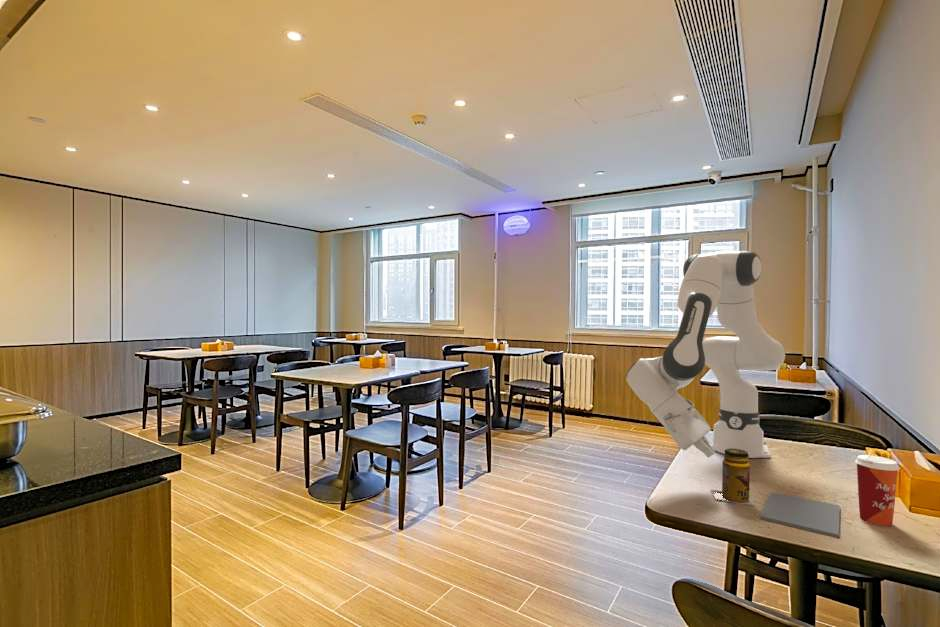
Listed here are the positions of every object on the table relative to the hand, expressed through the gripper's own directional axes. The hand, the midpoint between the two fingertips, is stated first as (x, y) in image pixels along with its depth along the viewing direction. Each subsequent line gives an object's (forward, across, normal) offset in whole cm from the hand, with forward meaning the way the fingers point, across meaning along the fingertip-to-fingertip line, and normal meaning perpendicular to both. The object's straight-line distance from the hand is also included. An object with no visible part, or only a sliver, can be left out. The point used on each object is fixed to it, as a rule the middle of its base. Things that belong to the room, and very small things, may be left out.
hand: (712, 454), depth 123 cm
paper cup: (+30, +6, -16) cm, 35 cm away
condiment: (+10, 0, +4) cm, 11 cm away
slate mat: (+20, 0, -6) cm, 21 cm away
